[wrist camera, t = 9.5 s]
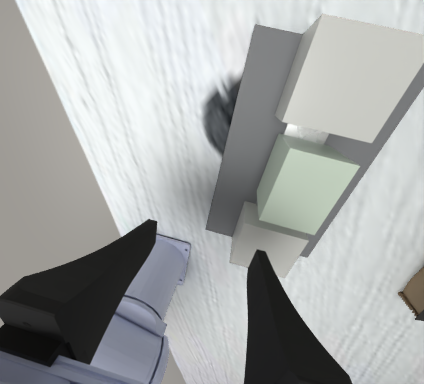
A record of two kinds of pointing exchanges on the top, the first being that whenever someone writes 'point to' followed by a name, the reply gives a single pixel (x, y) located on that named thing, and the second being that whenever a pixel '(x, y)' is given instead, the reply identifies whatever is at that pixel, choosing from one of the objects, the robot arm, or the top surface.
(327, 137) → the rail board
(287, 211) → the block
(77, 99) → the top surface
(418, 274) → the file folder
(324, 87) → the mounted modules
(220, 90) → the top surface
